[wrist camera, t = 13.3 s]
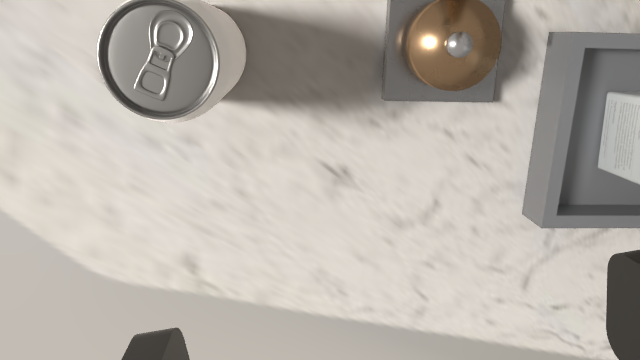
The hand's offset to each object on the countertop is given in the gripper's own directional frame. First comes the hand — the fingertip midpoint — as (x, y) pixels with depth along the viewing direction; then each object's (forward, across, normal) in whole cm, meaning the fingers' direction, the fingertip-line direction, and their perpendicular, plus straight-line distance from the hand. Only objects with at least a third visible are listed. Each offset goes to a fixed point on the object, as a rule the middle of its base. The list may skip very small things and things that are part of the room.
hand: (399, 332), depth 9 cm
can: (+28, +7, -5) cm, 30 cm away
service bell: (+28, -10, -3) cm, 30 cm away
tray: (+28, -24, +5) cm, 37 cm away
